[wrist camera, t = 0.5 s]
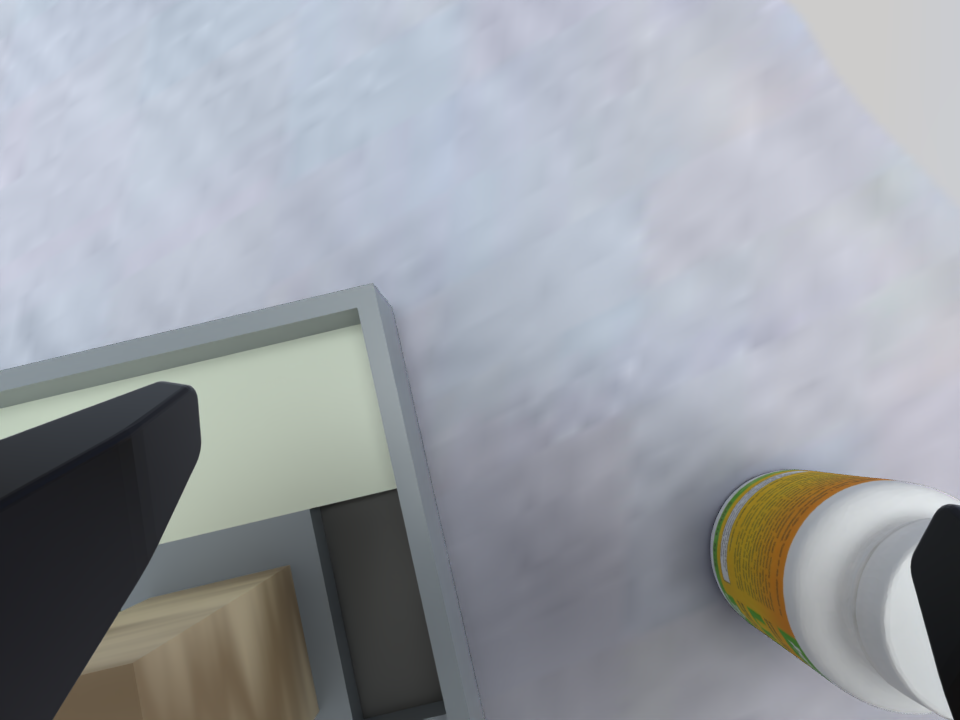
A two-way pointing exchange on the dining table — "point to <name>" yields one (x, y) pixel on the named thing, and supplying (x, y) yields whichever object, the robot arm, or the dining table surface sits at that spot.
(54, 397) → the box
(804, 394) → the dining table surface
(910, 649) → the supplement bottle
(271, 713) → the maple post
